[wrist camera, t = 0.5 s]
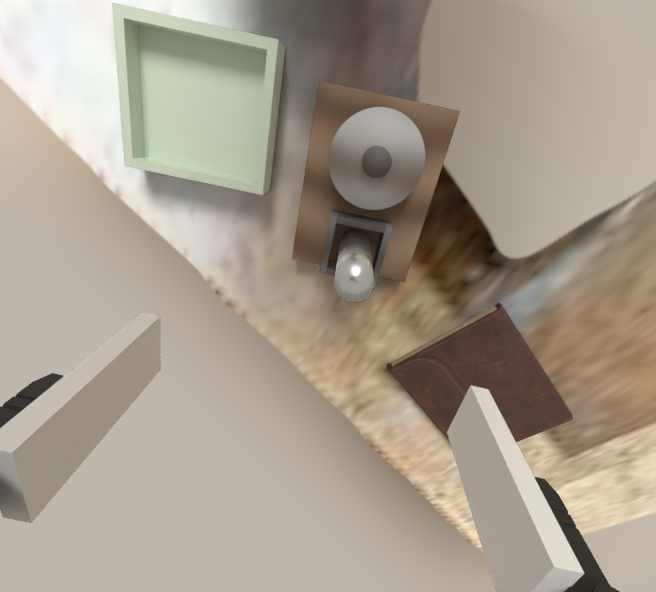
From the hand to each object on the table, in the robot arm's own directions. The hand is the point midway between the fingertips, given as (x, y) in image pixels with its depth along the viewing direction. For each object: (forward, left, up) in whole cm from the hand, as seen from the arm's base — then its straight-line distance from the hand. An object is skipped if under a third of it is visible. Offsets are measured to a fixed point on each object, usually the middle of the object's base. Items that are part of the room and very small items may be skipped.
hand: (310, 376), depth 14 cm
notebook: (+17, +22, -25) cm, 37 cm away
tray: (-8, -14, -24) cm, 29 cm away
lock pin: (+1, +2, -22) cm, 22 cm away
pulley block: (-4, +2, -24) cm, 24 cm away
